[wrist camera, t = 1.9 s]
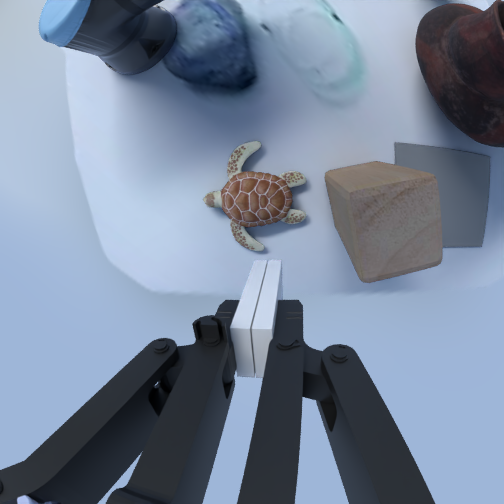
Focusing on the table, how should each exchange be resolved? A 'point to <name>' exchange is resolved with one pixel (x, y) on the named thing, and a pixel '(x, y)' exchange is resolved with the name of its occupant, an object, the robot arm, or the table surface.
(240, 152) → the decorative turtle
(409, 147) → the mat
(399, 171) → the wooden block
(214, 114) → the table surface
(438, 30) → the jug
